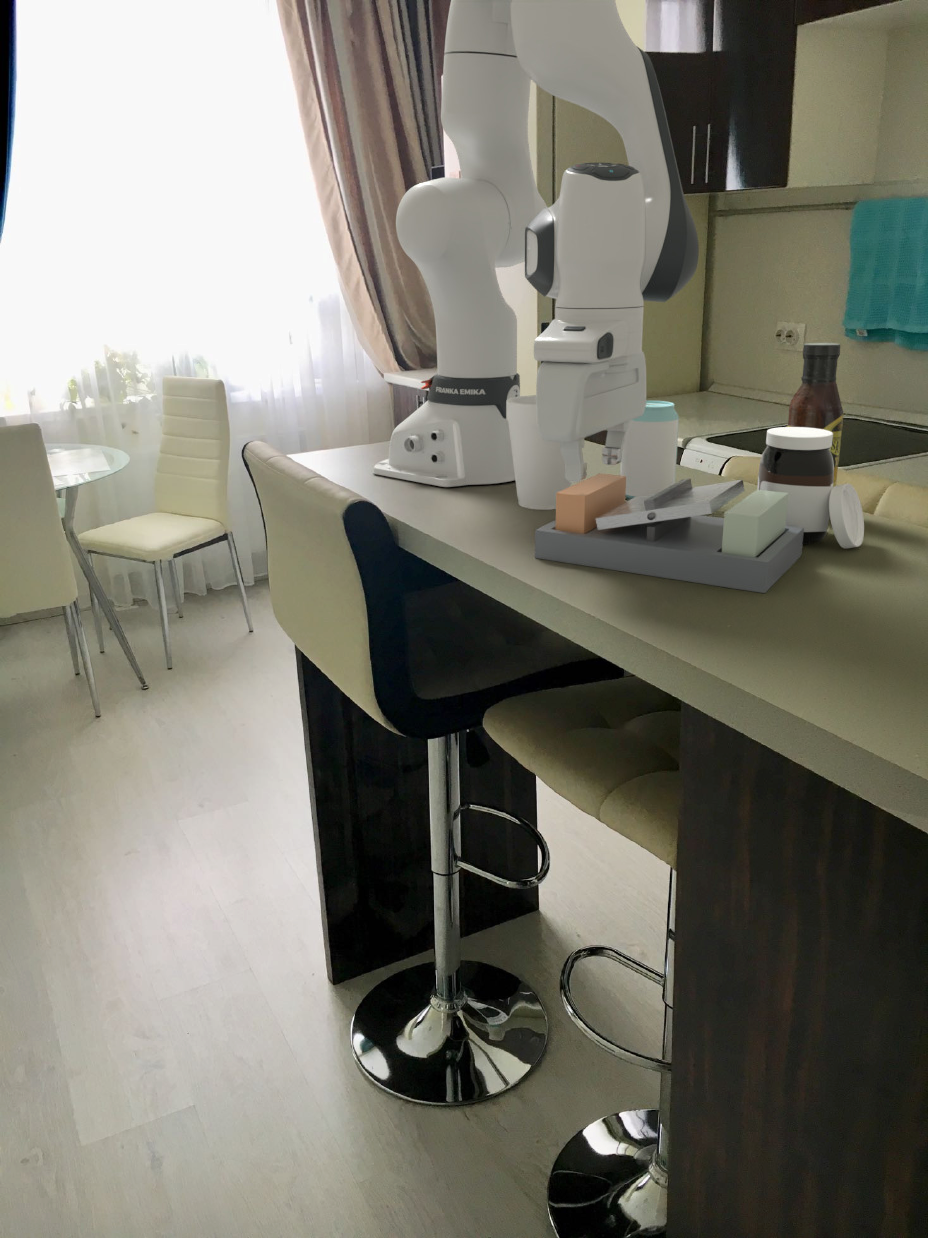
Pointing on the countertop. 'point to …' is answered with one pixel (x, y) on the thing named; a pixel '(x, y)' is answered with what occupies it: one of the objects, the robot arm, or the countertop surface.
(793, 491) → the spread jar
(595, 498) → the button terracotta
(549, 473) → the foam cup
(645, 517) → the rocker
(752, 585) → the grey rectangular tray
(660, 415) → the can
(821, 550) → the countertop surface
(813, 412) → the sauce bottle
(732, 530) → the button sage
